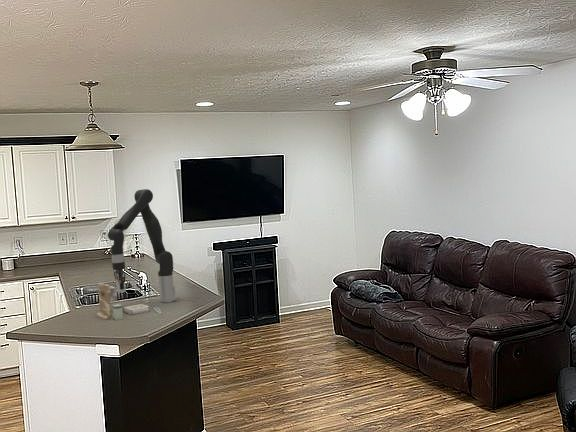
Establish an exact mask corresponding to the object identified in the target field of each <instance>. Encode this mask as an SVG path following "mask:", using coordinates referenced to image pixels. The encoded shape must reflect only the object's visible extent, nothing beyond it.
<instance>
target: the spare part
mask: <svg viewBox="0 0 576 432" xmlns="http://www.w3.org/2000/svg"><path fill="white" fill-rule="evenodd" d="M122 281H123V280H122ZM115 284H116V286H115V288H116V290H117V293H125V292H127V291H126V281H125V282H124V289H122V290H121V289H120V281H119V280H118V279H116V281H115Z"/></svg>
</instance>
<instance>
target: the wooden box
mask: <svg viewBox="0 0 576 432" xmlns="http://www.w3.org/2000/svg"><path fill="white" fill-rule="evenodd" d="M97 290H98V303H99V311H100V312H96V316H97V317H100V318H102V319H104V320H111V319H114V315H113V309H112V303H115V302H118V292H117V287H116V286H112V285H109V284H106V283H102V282H98V283H97Z"/></svg>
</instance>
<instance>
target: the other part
mask: <svg viewBox="0 0 576 432" xmlns="http://www.w3.org/2000/svg"><path fill="white" fill-rule="evenodd" d="M112 314H113V315H114V318H113V320H116V321H117V320H123V319H124V316H123V305H122V304H121V303H117V304H113V305H112Z"/></svg>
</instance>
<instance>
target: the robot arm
mask: <svg viewBox="0 0 576 432" xmlns="http://www.w3.org/2000/svg"><path fill="white" fill-rule="evenodd" d="M153 198H154V194H153V191H151V189H148V188H146V189H145V188H144V189H143V188H142V189H138V190H136V191H135V192H134V201H135V203H134V204H133V205H132V206H131V207H130V208H129V209H128V210H127V211H125V212H124V213H123V215H122V216H121V218H120V219H119V220H118V222H116V223H115V224H114V225H113V226H112V227H111V228H110V229H109V231H108V233H107V238H108V240H109V241H113V244H112V245H111V246H110V247H111V248H110V249H111V264H112V265H111V267H112V270H114V271H113V276H114V281H115V282H116V279H118V280H119V281H120V289H121V290H122V289H124V282H125V283H126V273H124V269H126V261H125V256H124V255H125V254H124V242H125V234H124V231H126V230H128V229H129V227H130V226H131V225H132V223H134V221H135V219H136V218H137V216H139V214H140V215H141V217H142V220H143V223H144V226H145V230H146V232H147V236H148V237H149V241H150V243H151V246H152V249H153V255H154V260H155V262H156V263H157V264H159V270H158V271H157V276H158V287H159V288H158V289H159V302H160V303H172V302H175V301H177V299H176V286H175V285H174V275H173V272H174V256H173V254H172V253H171V251H168V250H166V248H165V245H164V243H163V230H162V227H161V226H162V225H161V224H160V222H159V219H158V217H157V216H156V215H155V213H154V212H153V211H152V209H151V207H150V205H149V204H150V203H151V202H152V201H153ZM122 280H123V281H122Z"/></svg>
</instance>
